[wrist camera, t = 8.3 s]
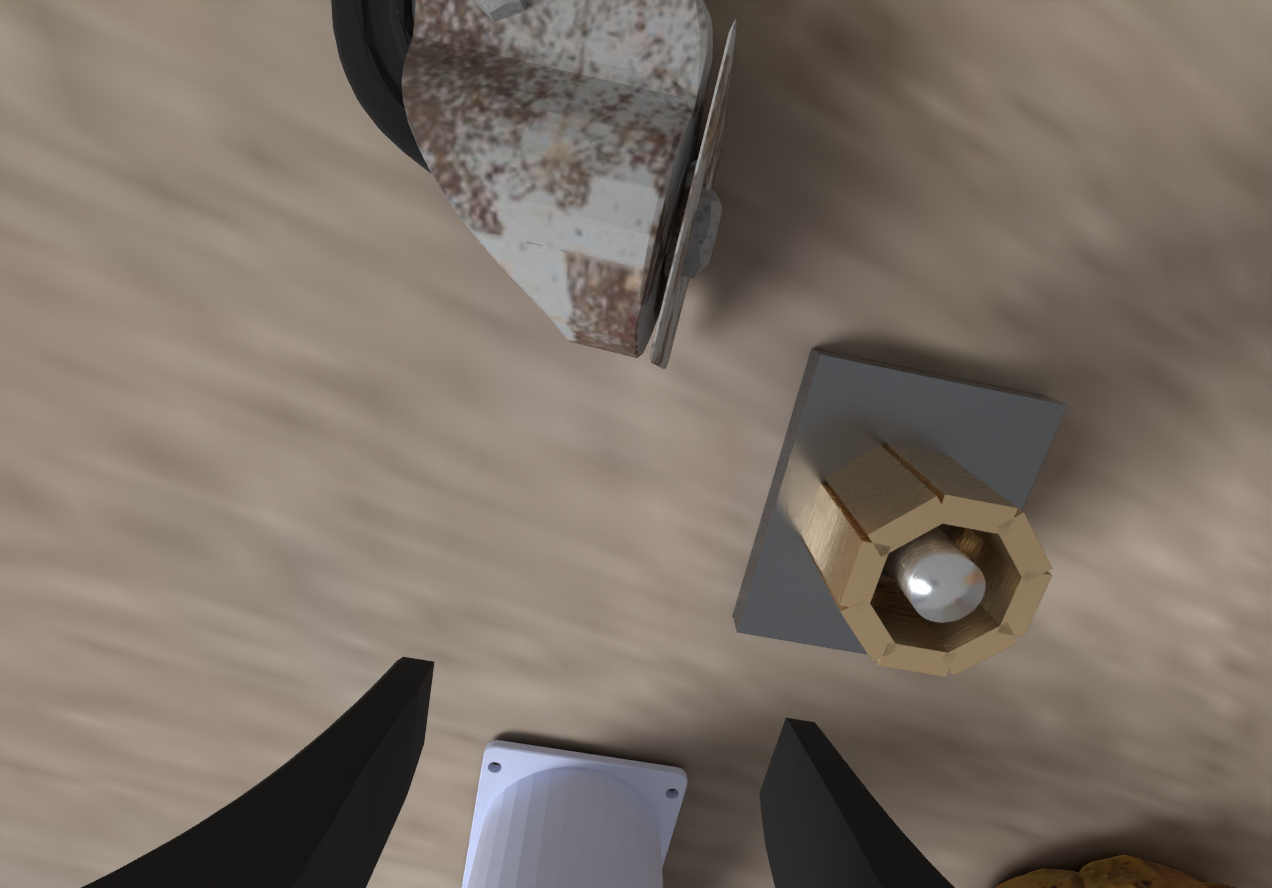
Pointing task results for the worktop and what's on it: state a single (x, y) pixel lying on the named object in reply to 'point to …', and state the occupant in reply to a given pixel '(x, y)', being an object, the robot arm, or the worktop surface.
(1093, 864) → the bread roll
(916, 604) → the stub shaft
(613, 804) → the robot arm
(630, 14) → the caster wheel
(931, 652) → the hub ring
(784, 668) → the worktop surface
